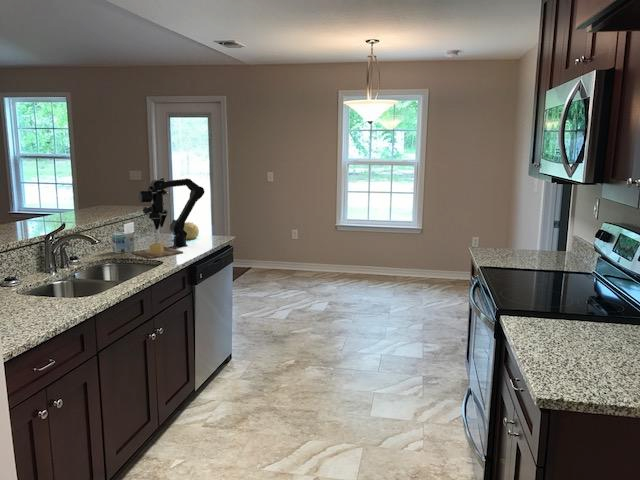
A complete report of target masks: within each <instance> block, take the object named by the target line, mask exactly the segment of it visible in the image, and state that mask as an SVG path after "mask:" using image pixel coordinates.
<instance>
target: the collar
mask: <svg viewBox="0 0 640 480" xmlns="http://www.w3.org/2000/svg"><path fill="white" fill-rule="evenodd" d="M164 245H165V243H164V242H151V243H150V244H149V249H150V254H162V253H163V252H164V247H165V246H164Z"/></svg>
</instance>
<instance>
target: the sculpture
mask: <svg viewBox="0 0 640 480" xmlns="http://www.w3.org/2000/svg"><path fill="white" fill-rule="evenodd" d="M183 230H184V231H185V232H186V233H187V236H186V240H193V239H197V237H198V236H199V232H200V229H199V226H197V224H195V223H194V222H189V221H188V222H186V221H185V226H184V229H183Z"/></svg>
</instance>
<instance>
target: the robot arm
mask: <svg viewBox="0 0 640 480" xmlns="http://www.w3.org/2000/svg"><path fill="white" fill-rule="evenodd" d="M181 186H182V187H183V186H184V187H185V186H186V187H187V188H188V190H189V191H190V192H189V197H188V200H187V201H186V203H185V205H184V207H183V208H182V211H181V212H180V214H179V216H178V218H177V219H173V220H172V221H171V224H170V225H169V231H170V233H172V235H173V240H172V241H173V245H172V246H173V247H175V248H182V247H188V246H189V245H188V244H187V239H186V236H187V233H186V232H185V231H184V230H183V229H184V226H185V223H186V221H187V220H188V218H189V216H190V214H191V212H192V211H193V208H194V207H195V205H196V203H197V202H198V201H199V200H200V199H201V198H202V197H203V196H204V194H205V189H204V187H202V186H200V185H198V184H197V183H195V182H194V181H193V180H192V179H191V178H184V179H183V178H182V179H171V180H162V179H152V180H151V182H150V186H149V187H148V188H147V190H139V192H138V197H137V199H138V201H139V203H142V204H143V203H144V204H145V203H151V206H149V207H148V206H144V207H143V209H142V213H143V214H144V215H147V214H148V218H149V219H150V220H151V221H153V224H154V228H155V230H159V228H163V227H164V224H165V222H166V219H167V217H168V214H169V210H168V209H166V208H164V207H165V206H164V205H165V202H164V195H165V194H167V192H166V191H165V189H166V190H167V189H168V188H172V187H173V188H174V187H175V188H176V187H181Z"/></svg>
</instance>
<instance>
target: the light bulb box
mask: <svg viewBox="0 0 640 480" xmlns="http://www.w3.org/2000/svg"><path fill="white" fill-rule="evenodd" d="M111 241H112V242H111V243H112V253H115V254H125V253H131V252H133V251H136V249H135V248H136V247H135V233H134V232H132V231H121V232H113V233H111Z"/></svg>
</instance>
